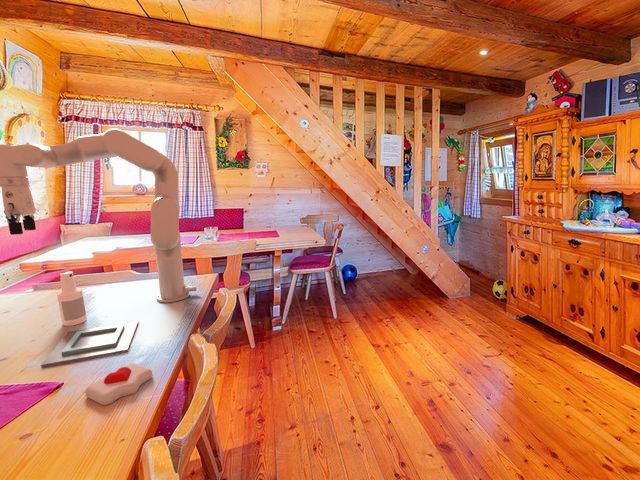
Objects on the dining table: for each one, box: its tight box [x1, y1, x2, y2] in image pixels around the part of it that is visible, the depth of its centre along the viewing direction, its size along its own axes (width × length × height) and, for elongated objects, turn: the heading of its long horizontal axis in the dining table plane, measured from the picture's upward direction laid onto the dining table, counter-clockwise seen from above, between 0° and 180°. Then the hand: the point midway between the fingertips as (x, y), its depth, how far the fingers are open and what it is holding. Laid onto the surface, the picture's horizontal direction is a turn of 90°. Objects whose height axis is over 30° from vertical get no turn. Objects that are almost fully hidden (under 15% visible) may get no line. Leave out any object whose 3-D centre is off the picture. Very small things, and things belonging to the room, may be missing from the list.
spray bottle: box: [56, 270, 87, 327], centre depth 110 cm, size 7×7×18 cm
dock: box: [40, 320, 139, 368], centre depth 97 cm, size 20×20×2 cm
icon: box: [84, 362, 153, 406], centre depth 76 cm, size 12×4×10 cm
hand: (23, 232), depth 112 cm, fingers open, 9 cm apart
